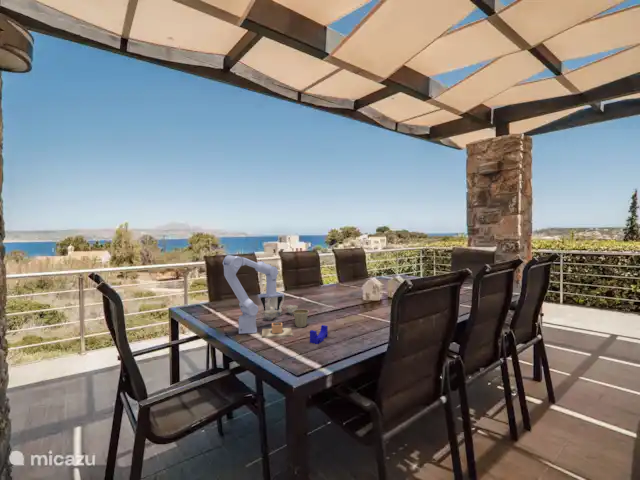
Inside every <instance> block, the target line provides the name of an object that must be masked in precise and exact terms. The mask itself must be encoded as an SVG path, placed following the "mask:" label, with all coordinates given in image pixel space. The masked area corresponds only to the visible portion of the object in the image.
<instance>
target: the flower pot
mask: <svg viewBox="0 0 640 480" xmlns="http://www.w3.org/2000/svg"><path fill="white" fill-rule="evenodd" d="M293 313H294V315H293V316H294V323H295V326H296V327H297V328H304V327H307V323H308V316H309V313H310V310H308V309H304V308H303V309H302V308H299V309H298V308H297V310H294V311H293Z"/></svg>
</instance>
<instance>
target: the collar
mask: <svg viewBox="0 0 640 480" xmlns="http://www.w3.org/2000/svg"><path fill="white" fill-rule="evenodd" d="M277 323H278V324H279V325H275V324H277ZM283 328H284V327H283V322H271V329H272V333H283Z"/></svg>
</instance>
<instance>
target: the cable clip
mask: <svg viewBox="0 0 640 480" xmlns="http://www.w3.org/2000/svg"><path fill="white" fill-rule="evenodd" d="M328 332H329V331H328V325H324V324H322V325H321V326H320V331H319V333H318V332H317V330H312V329H311V330H310V331H309V343H310V344H314V343H315V344H314V345H319V344H320V343H322V341H323V342H324V341H325V339H326V338H328ZM324 338H325V339H324Z"/></svg>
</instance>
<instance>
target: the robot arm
mask: <svg viewBox="0 0 640 480" xmlns="http://www.w3.org/2000/svg"><path fill="white" fill-rule="evenodd" d="M222 265H223V276H224V278H225V280H226V281H227V283H228V285H229V286H230V289H232V291H233V293H234V295H235V296H236V299H237V300H238V301H239V304H238V305H239V308H240V311H241V312H242V315H239V316H238V327H237V328H238V335H239V334H240V335H241V334H243V335H244V334H257V333H258V327H257V314H258V313H259V306H258V305H257V304H256V303H254V301H253V300H252V299H250V298H249V296H248V294H247V292H246V290H245V289H244V287H243V286H242V284H241V282H240V280H239V278H238V276H237V273H238V271H239V270H240V268H241V267H243V266H248V267H250V268H253V269H254V270H255V271H256V272H258V273H261V274H264V275H266V277H265V278H266V279H265V280H266V282H265V283H266V290H265V292H266V293H261V294H258V299H260V301H261V303H262V307H263V312H265V310H266V299H268V298H270V299H271V298H275V297H277V301H278V304H277V310H279V306H280V304H281V303H282V302H283V297H284V298H285V293H278V292H277V277H278V274H279V270H278V268H277V267H276V266H274V265H273V266H272V265H271V263H265V261H264V260H263V261H261V260H260V261H254V260H251V259H249V258H247V257H243V256H239V255H232V254H228V255H226V256H225V257H224V258H223V260H222ZM276 292H277V293H276Z"/></svg>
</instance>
